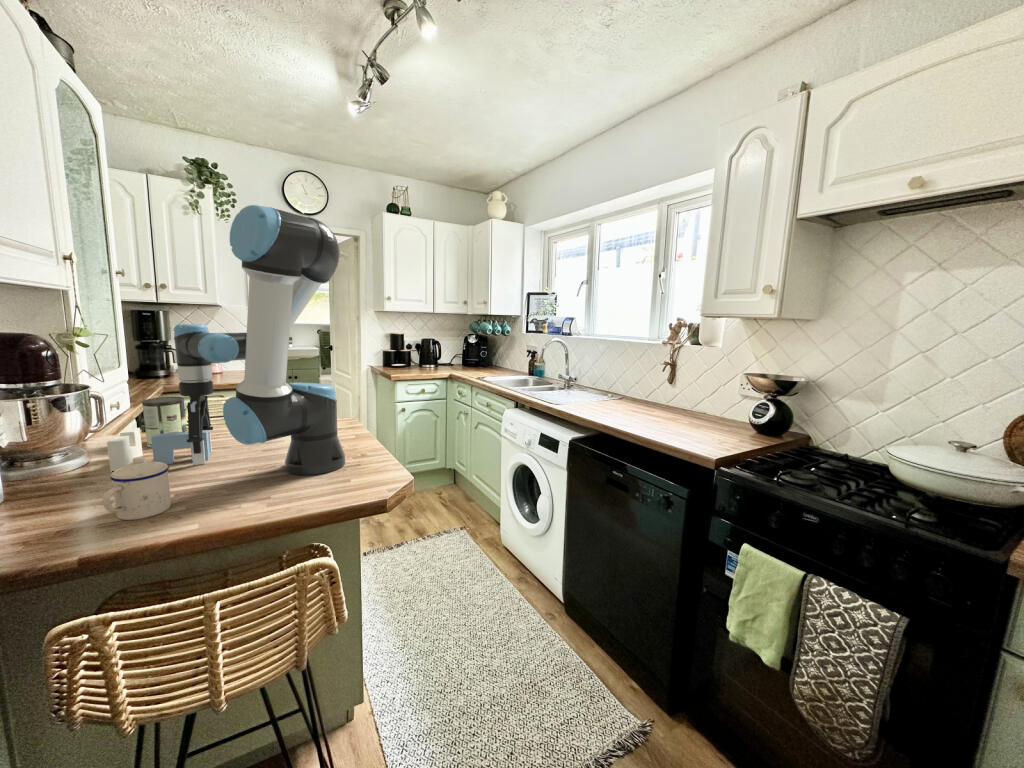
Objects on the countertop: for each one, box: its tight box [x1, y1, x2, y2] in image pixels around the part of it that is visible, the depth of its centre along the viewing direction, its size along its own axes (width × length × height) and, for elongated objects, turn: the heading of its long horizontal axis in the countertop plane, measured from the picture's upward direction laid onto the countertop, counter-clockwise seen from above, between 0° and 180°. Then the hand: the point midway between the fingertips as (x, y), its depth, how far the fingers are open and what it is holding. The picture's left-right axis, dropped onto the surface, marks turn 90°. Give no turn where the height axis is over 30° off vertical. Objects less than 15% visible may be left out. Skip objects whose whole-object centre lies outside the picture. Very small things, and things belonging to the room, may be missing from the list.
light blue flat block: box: [151, 430, 211, 465], centre depth 117 cm, size 3×12×8 cm, turn 117°
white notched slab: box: [106, 427, 144, 473], centre depth 115 cm, size 14×3×8 cm, turn 27°
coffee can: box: [141, 396, 188, 448], centre depth 132 cm, size 10×10×14 cm
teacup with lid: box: [102, 455, 172, 521], centre depth 86 cm, size 12×9×12 cm
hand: (202, 458), depth 120 cm, fingers open, 9 cm apart
